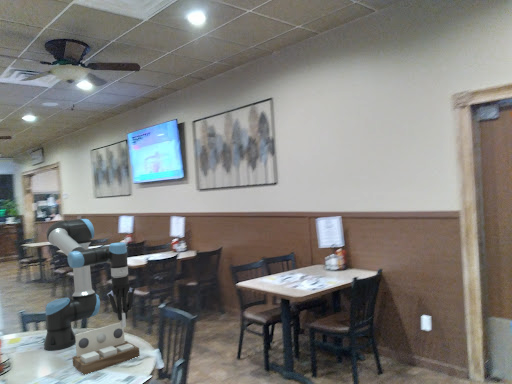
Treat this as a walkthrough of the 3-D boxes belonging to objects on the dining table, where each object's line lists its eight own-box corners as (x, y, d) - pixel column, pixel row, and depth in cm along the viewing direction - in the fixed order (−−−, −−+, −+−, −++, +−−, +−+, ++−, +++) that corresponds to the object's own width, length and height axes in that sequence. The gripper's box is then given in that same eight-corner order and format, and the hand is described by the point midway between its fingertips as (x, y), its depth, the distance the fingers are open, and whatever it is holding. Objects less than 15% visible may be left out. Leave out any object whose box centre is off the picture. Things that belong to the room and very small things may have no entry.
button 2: (116, 352, 191) (116, 347, 191) (129, 349, 194) (128, 343, 194) (121, 356, 186) (121, 350, 186) (134, 352, 190) (134, 346, 190)
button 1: (80, 361, 180) (80, 355, 180) (94, 357, 184) (94, 351, 184) (85, 364, 176) (85, 358, 176) (99, 360, 179) (99, 354, 179)
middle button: (99, 355, 185) (98, 349, 185) (112, 351, 189) (111, 345, 189) (104, 359, 181) (103, 352, 181) (117, 354, 185) (117, 348, 185)
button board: (72, 365, 184) (72, 356, 184) (126, 349, 201) (125, 340, 201) (84, 375, 173) (83, 365, 173) (139, 356, 189) (139, 347, 189)
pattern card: (76, 356, 184) (75, 334, 184) (123, 342, 199) (122, 321, 199) (77, 357, 183) (76, 335, 183) (125, 343, 198) (123, 322, 198)
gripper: (109, 279, 183) (112, 332, 183) (136, 274, 192) (140, 324, 192) (102, 277, 189) (106, 328, 189) (129, 272, 198) (133, 321, 197)
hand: (123, 326), depth 190 cm, fingers closed
